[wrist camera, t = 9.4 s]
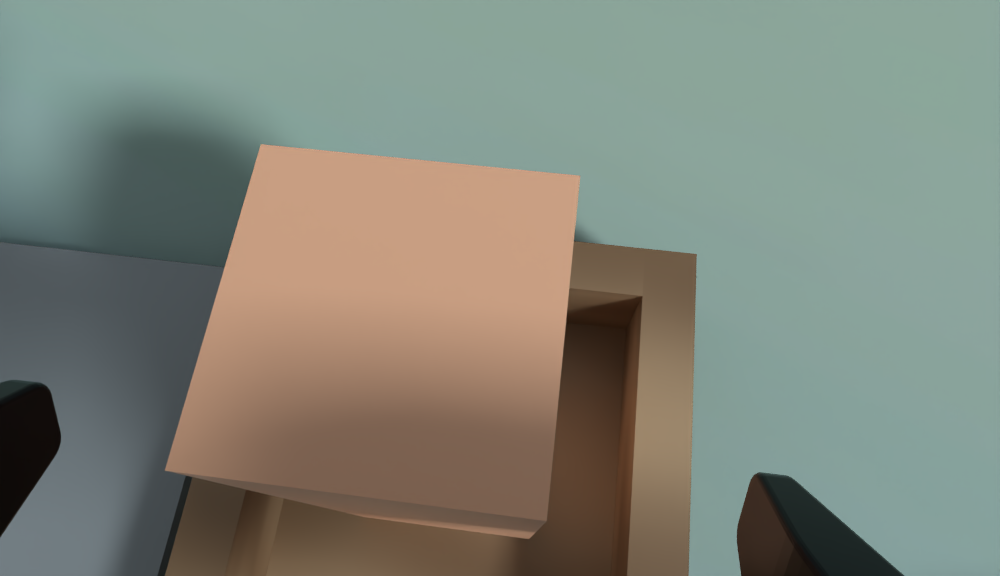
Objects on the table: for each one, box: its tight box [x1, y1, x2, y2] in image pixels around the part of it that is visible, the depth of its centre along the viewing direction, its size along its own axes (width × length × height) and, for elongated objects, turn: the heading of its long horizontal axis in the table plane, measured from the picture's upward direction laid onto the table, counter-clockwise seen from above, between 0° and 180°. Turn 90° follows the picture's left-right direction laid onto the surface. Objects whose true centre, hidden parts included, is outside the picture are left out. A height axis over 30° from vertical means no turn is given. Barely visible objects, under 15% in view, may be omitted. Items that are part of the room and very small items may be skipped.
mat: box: [0, 242, 225, 576], centre depth 18 cm, size 10×10×1 cm
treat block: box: [165, 144, 580, 539], centre depth 12 cm, size 4×4×10 cm
